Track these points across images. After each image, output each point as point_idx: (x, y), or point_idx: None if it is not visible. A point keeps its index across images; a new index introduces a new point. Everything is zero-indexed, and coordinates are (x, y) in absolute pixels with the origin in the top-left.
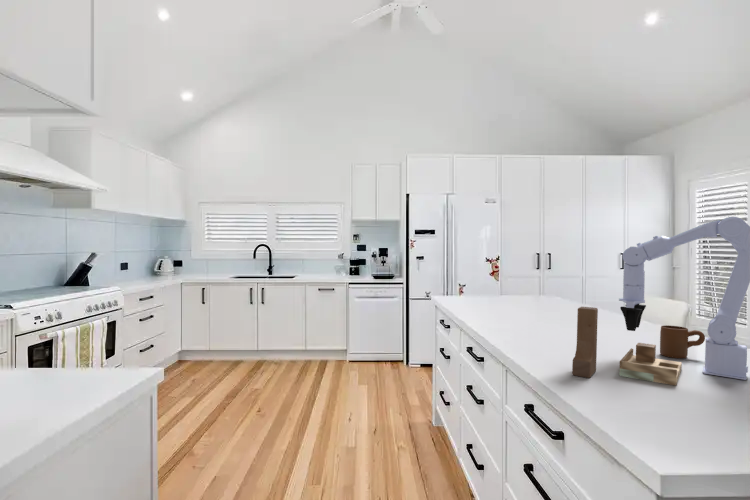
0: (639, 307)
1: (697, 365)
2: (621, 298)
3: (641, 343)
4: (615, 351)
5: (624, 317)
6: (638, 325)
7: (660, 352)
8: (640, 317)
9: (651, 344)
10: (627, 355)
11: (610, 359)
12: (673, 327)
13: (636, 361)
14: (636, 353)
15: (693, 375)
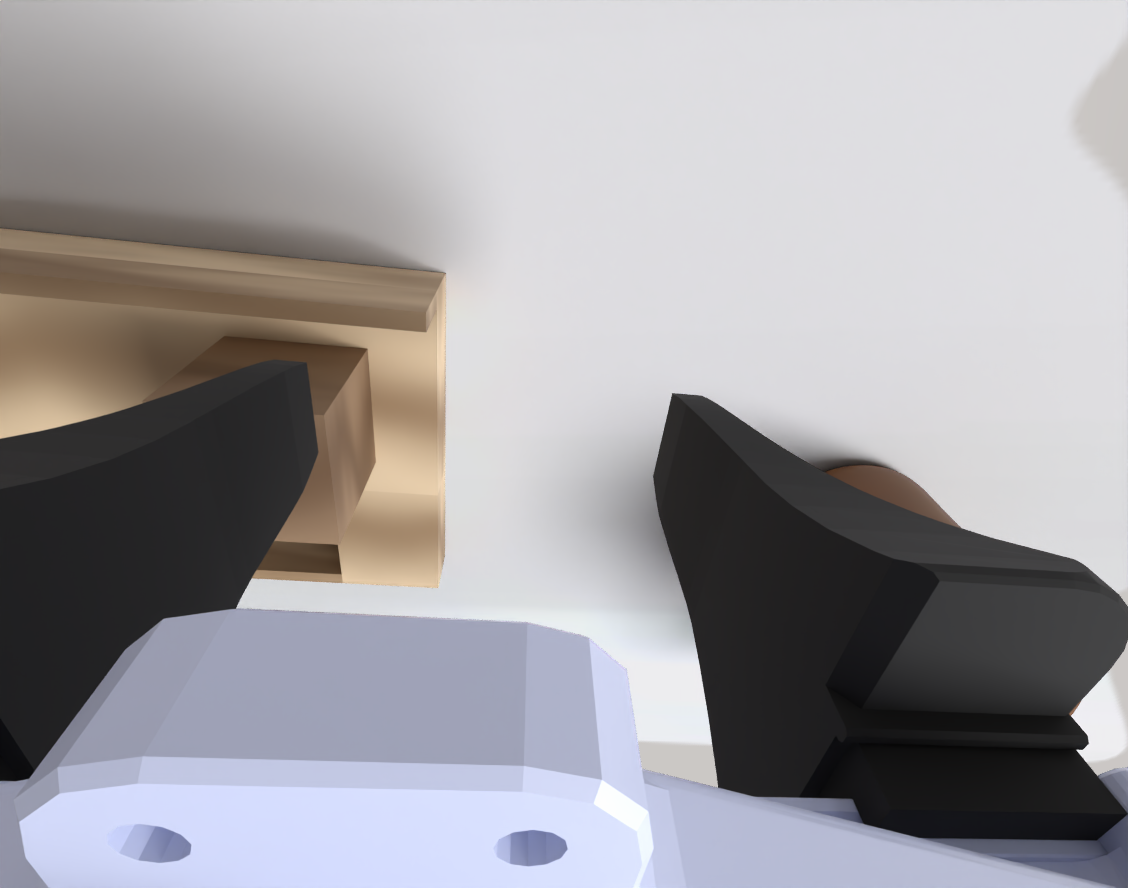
0: (751, 788)
1: (616, 616)
2: (470, 872)
3: None
4: (831, 110)
5: (53, 429)
6: (656, 496)
7: (845, 472)
8: (692, 608)
9: (327, 517)
10: (12, 294)
11: (389, 83)
12: None
13: (183, 343)
14: (194, 367)
15: (331, 595)
